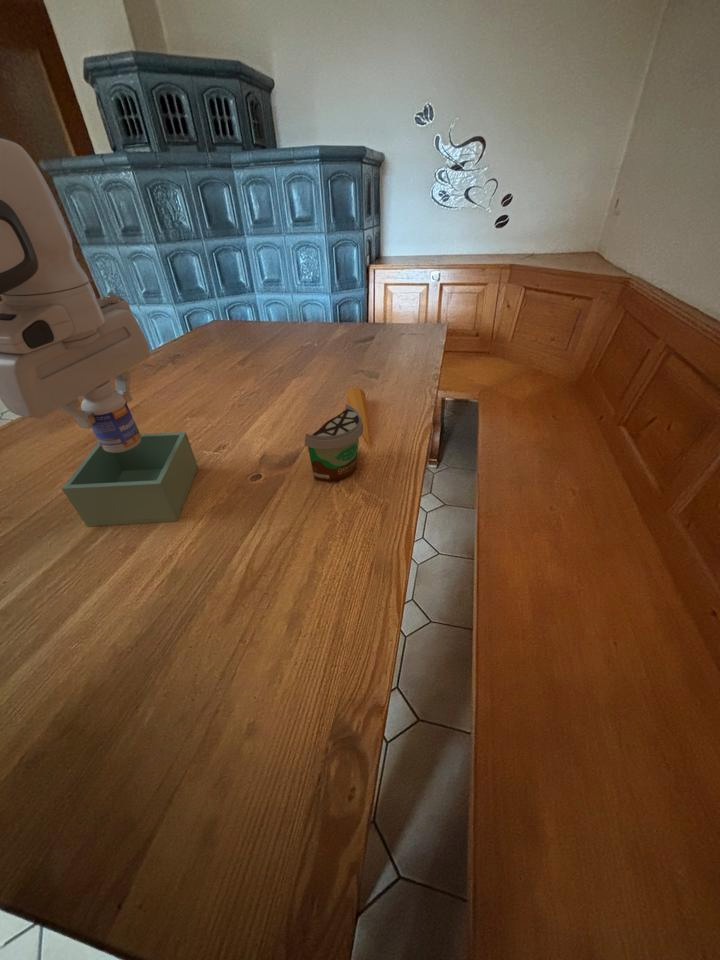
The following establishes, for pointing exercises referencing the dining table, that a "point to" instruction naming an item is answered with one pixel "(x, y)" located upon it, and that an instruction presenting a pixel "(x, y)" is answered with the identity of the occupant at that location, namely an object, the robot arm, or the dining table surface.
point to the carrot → (360, 409)
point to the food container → (335, 446)
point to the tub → (134, 482)
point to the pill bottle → (111, 419)
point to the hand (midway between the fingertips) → (107, 413)
